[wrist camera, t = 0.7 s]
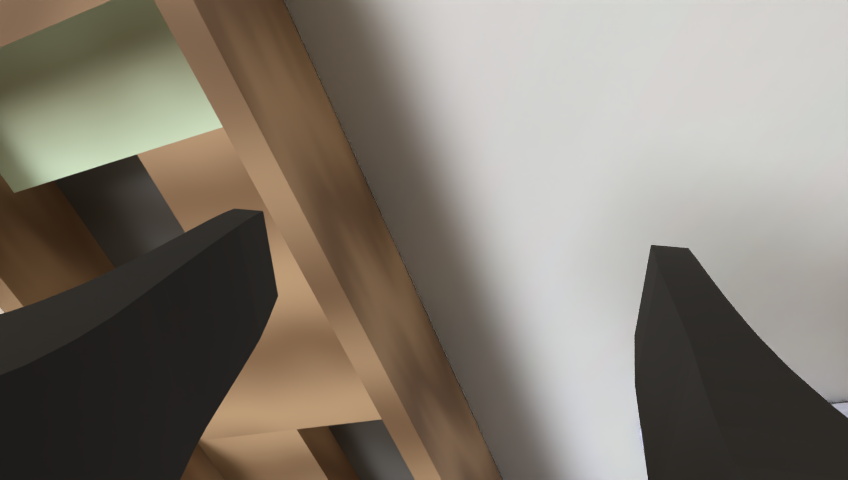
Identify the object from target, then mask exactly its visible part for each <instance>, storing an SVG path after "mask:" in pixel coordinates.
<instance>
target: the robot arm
mask: <svg viewBox="0 0 848 480" xmlns="http://www.w3.org/2000/svg"><path fill="white" fill-rule="evenodd" d="M277 298H278V292H277V286H276V280H275V275H274V269H273V263H272V258H271V252H270V246H269V241H268V235H267V229H266V224H265V218H264V213H263V211H258V210H246V209H235V208H234V209H232V210H229V211H227V212H224V213H222V214H220V215H218V216H216V217H214V218H212V219H210V220H208V221H206V222H204V223H202V224H200V225H198V226H196V227H195V228H193V229H191V230H189V231H187V232H185V233H183V234H181V235H180V236H178V237H176V238H174V239H172V240H170V241H168V242H167V243H165V244H163V245H161V246H159V247H157V248H155V249H153V250H152V251H150V252H148V253H146V254H144V255H142V256H140V257H138V258H136V259H134V260H132V261H130V262H128V263H126V264H124V265H122V266H119V267H117V268H115V269H113V270H111V271H109V272H107V273H105V274H103V275H101V276H99V277H97V278H95V279H93V280H90V281H88V282H86V283H84V284H81V285H79V286H76V287H74V288H72V289H69V290H67V291H64V292H62V293H59V294H57V295H54V296H52V297H49V298H47V299H44V300H41V301H39V302H36V303H33V304H30V305H27V306H24V307H21V308H18V309H15V310H12V311H9V312H6V313H3V314H0V480H180V479H181V477H182V475H183V473H184V471H185V468H186V466H187V464H188V462H189V460H190V458H191V456H192V454H193V451H194V449H195V447H196V446H197V444H198V442H199V440H200V438H201V436H202V435H203V433H204V431H205V429H206V427H207V426H208V424H209V423H210V421H211V419H212V418H213V416H214V414H215V413H216V411H217V409H218V408H219V406H220V405H221V403H222V401H223V400H224V398H225V396H226V395H227V393H228V392H229V390H230V388H231V387H232V385H233V383H234V382H235V380H236V379H237V377H238V375H239V374H240V372H241V370H242V369H243V367H244V365H245V364H246V362H247V360H248V359H249V357H250V355H251V354H252V352H253V350H254V349H255V347H256V345H257V343H258V342H259V340H260V338H261V336H262V334H263V332H264V329H265V327H266V325H267V323H268V320H269V318H270V315H271V313H272V310H273V308H274V305H275V303H276V300H277ZM635 388H636V396H637V403H638V411H639V418H640V425H641V427H640V440H641V443H642V446H643V450H644V453H645V460H646V467H647V475H648V480H848V402H847V403H837V404H830V403H829V402H828V401H826V400H825V399H824V398H823V397H822V396H821V395H819V394H818V393H817V392H816V391H815V390H814V389H813V388H811V387H810V386H809V385H808V384H807V383H806V382H805V381H803V380H802V379H801V378H800V377H799V376H798V375H797V374H796V373H794V372H793V371H792V370H791V369H790V368H789V367H788V366H787V365H786V364H785V363H784V362H783V361H782V360H781V359H780V358H779V357H778V356H777V355H776V354H775V353H774V352H773V351H772V350H771V349H770V348H769V347H768V346H767V345H766V344H765V343H764V342H763V341H762V340H761V338H760V337H759V336H758V335H757V334H756V333H755V332H754V331H753V330H752V329H751V327H750V326H749V325H748V324H747V323H746V321H745V320H744V319H743V318H742V317H741V315H740V314H739V313H738V312H737V311H736V310H735V308H734V307H733V306H732V305H731V303H730V302H729V301H728V300H727V298H726V297H725V296H724V295H723V293H722V292H721V291H720V289H719V288H718V287H717V286H716V284H715V283H714V282H713V280H712V279H711V278H710V276H709V275H708V274H707V272H706V271H705V270H704V268H703V267H702V266H701V264H700V263H699V261H698V260H697V259H696V257H695V256H694V255H693V254H692V252H691V251H690V250H689V249H688V248H679V247H668V246H657V245H651V249H650V254H649V260H648V265H647V271H646V276H645V282H644V287H643V293H642V298H641V304H640V309H639V315H638V320H637V326H636V331H635Z"/></svg>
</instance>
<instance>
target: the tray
mask: <svg viewBox="0 0 848 480" xmlns="http://www.w3.org/2000/svg"><path fill="white" fill-rule="evenodd" d="M234 208H235V209H246V210H258V211H263V213H264V218H265V224H266V229H267V235H268V241H269V246H270V252H271V258H272V263H273V269H274V275H275V280H276V286H277V292H278V298H277V300H276V303H275V305H274V308H273V310H272V313H271V315H270V318H269V320H268V323H267V325H266V327H265V329H264V332H263V334H262V336H261V338H260V340H259V342H258V343H257V345H256V347H255V349H254V350H253V352H252V354H251V355H250V357H249V359H248V360H247V362H246V364H245V365H244V367H243V369H242V370H241V372H240V374H239V375H238V377H237V379H236V380H235V382H234V383H233V385H232V387H231V388H230V390H229V392H228V393H227V395H226V396H225V398H224V400H223V401H222V403H221V405H220V406H219V408H218V409H217V411H216V413H215V414H214V416H213V418H212V419H211V421H210V423H209V424H208V426H207V427H206V429H205V431H204V433H203V435H202V436H201V438H200V440H199V442H198V444H197V446H196V447H195V449H194V451H193V454H192V456H191V458H190V460H189V462H188V464H187V466H186V468H185V471H184V473H183V475H182V477H181V479H180V480H502V478H501V476H500V474H499V471H498V469H497V467H496V465H495V463H494V460H493V458H492V456H491V454H490V452H489V449H488V447H487V445H486V443H485V441H484V439H483V436H482V434H481V432H480V430H479V428H478V425H477V423H476V421H475V419H474V417H473V414H472V412H471V410H470V408H469V406H468V404H467V401H466V399H465V397H464V395H463V393H462V390H461V388H460V386H459V384H458V382H457V379H456V377H455V375H454V373H453V371H452V369H451V366H450V364H449V362H448V360H447V358H446V355H445V353H444V351H443V349H442V347H441V344H440V342H439V340H438V338H437V336H436V334H435V331H434V329H433V327H432V325H431V323H430V320H429V318H428V316H427V314H426V312H425V309H424V307H423V305H422V303H421V301H420V299H419V296H418V294H417V292H416V290H415V288H414V285H413V283H412V281H411V279H410V277H409V274H408V272H407V270H406V268H405V266H404V263H403V261H402V259H401V257H400V255H399V253H398V250H397V248H396V246H395V244H394V242H393V239H392V237H391V235H390V233H389V231H388V228H387V226H386V224H385V222H384V220H383V218H382V215H381V213H380V211H379V209H378V207H377V204H376V202H375V200H374V198H373V196H372V193H371V191H370V189H369V187H368V185H367V183H366V180H365V178H364V176H363V174H362V172H361V169H360V167H359V165H358V163H357V161H356V158H355V156H354V154H353V152H352V150H351V148H350V145H349V143H348V141H347V139H346V137H345V134H344V132H343V130H342V128H341V126H340V123H339V121H338V119H337V117H336V115H335V113H334V110H333V108H332V106H331V104H330V102H329V99H328V97H327V95H326V93H325V91H324V88H323V86H322V84H321V82H320V80H319V78H318V75H317V73H316V71H315V69H314V67H313V64H312V62H311V60H310V58H309V56H308V53H307V51H306V49H305V47H304V45H303V43H302V40H301V38H300V36H299V34H298V32H297V29H296V27H295V25H294V23H293V21H292V18H291V16H290V14H289V12H288V10H287V7H286V5H285V3H284V1H283V0H0V307H1V309H2V310H3V311H4V312H5V313H6V312H9V311H12V310H15V309H18V308H21V307H24V306H27V305H30V304H33V303H36V302H39V301H41V300H44V299H47V298H49V297H52V296H54V295H57V294H59V293H62V292H64V291H67V290H69V289H72V288H74V287H76V286H79V285H81V284H84V283H86V282H88V281H90V280H93V279H95V278H97V277H99V276H101V275H103V274H105V273H107V272H109V271H111V270H113V269H115V268H117V267H119V266H122V265H124V264H126V263H128V262H130V261H132V260H134V259H136V258H138V257H140V256H142V255H144V254H146V253H148V252H150V251H152V250H153V249H155V248H157V247H159V246H161V245H163V244H165V243H167V242H168V241H170V240H172V239H174V238H176V237H178V236H180V235H181V234H183V233H185V232H187V231H189V230H191V229H193V228H195V227H196V226H198V225H200V224H202V223H204V222H206V221H208V220H210V219H212V218H214V217H216V216H218V215H220V214H222V213H224V212H227V211H229V210H232V209H234Z"/></svg>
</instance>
